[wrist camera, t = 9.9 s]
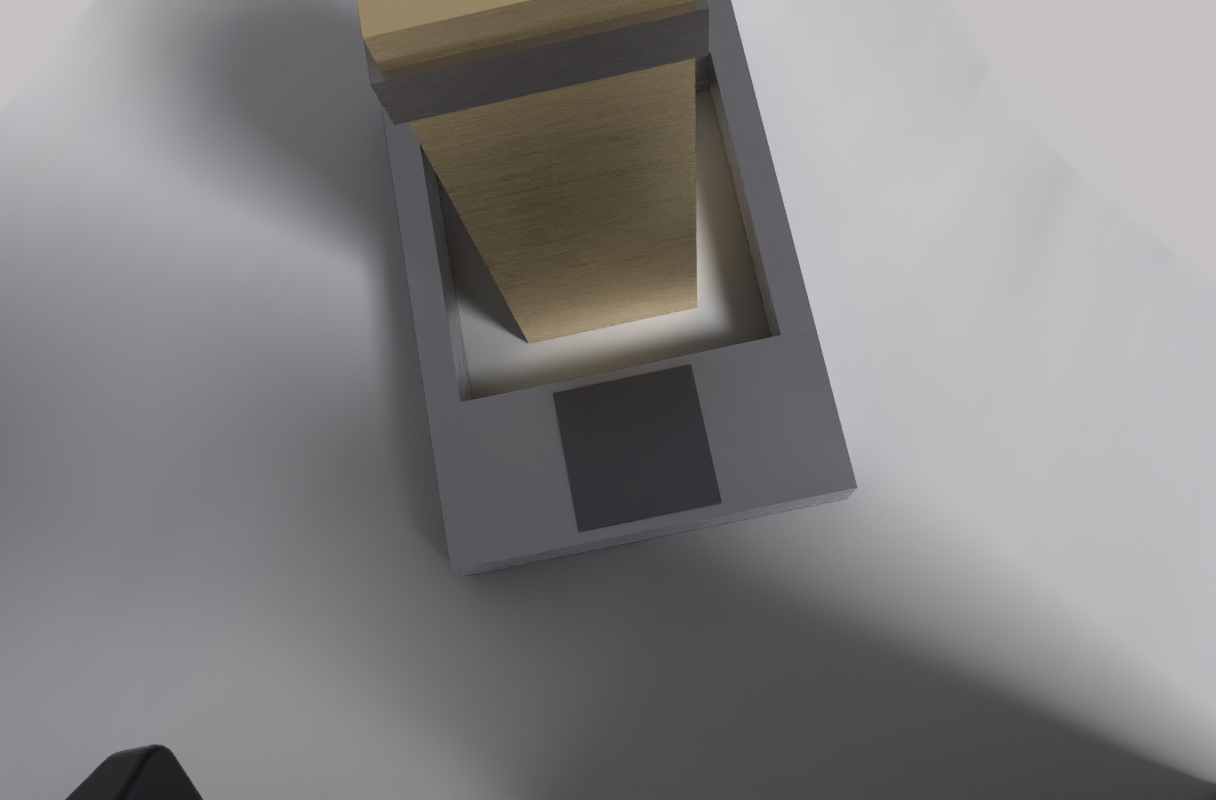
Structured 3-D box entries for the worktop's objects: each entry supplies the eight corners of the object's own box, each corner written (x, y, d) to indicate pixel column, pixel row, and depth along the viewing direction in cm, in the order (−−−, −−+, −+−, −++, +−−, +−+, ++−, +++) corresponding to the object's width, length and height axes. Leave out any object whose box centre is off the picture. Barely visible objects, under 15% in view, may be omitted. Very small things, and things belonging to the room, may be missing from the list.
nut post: (704, 311, 23) (709, -30, 12) (523, 350, 23) (351, 51, 12) (666, 147, 24) (636, -312, 13) (493, 185, 25) (310, -235, 13)
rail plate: (846, 498, 22) (857, 486, 20) (466, 575, 22) (449, 569, 21) (726, 28, 25) (728, -13, 24) (394, 102, 25) (374, 66, 24)
